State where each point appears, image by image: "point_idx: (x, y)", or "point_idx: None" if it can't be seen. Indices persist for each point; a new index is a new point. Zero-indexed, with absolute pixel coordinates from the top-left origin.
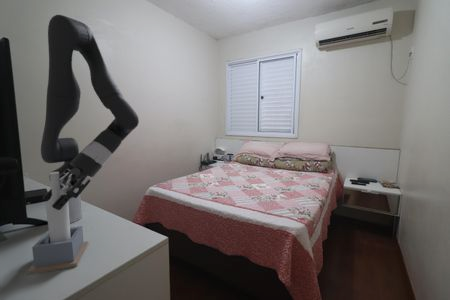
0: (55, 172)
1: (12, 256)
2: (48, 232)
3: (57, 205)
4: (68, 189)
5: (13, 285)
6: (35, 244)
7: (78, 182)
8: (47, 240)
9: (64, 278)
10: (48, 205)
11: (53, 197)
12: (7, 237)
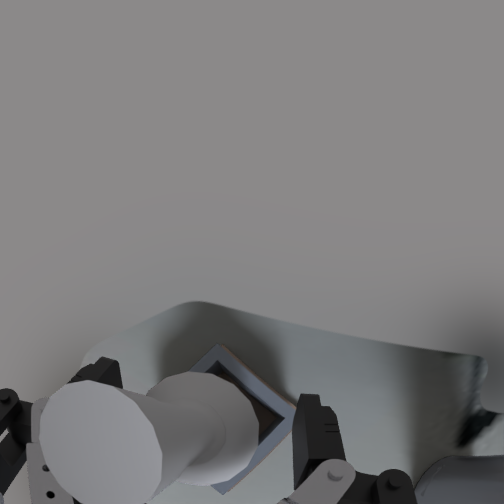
0: (109, 475)
1: (347, 349)
2: (284, 411)
3: (85, 369)
4: (32, 430)
5: (210, 316)
6: (228, 355)
7: None
8: (261, 400)
9: (132, 377)
10: (178, 374)
11: (169, 403)
12: (452, 357)
